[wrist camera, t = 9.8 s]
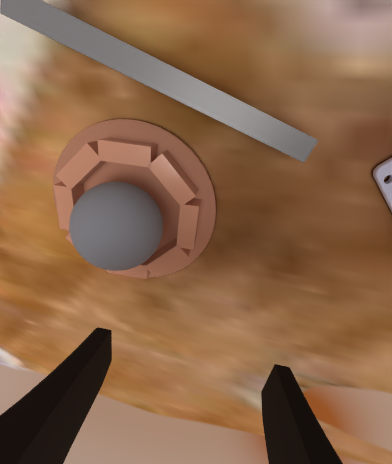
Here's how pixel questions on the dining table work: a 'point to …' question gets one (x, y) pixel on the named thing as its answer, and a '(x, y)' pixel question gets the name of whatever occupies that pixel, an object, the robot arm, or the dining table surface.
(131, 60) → the low wall
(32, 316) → the dining table surface
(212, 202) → the bowl
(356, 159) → the dining table surface
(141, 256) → the ball
